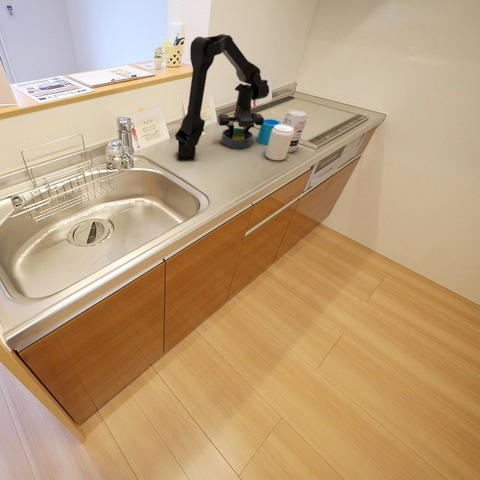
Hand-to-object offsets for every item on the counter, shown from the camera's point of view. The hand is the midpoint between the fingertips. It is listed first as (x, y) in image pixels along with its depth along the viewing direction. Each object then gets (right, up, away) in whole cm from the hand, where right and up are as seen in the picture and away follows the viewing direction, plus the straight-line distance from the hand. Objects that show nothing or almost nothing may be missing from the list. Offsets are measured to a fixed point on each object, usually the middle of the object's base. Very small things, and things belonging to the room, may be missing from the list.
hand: (236, 139), depth 122 cm
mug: (+16, +1, +4) cm, 16 cm away
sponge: (0, -1, +1) cm, 1 cm away
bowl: (0, -1, +1) cm, 2 cm away
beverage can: (+13, -11, -9) cm, 19 cm away
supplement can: (+20, -6, -3) cm, 21 cm away
